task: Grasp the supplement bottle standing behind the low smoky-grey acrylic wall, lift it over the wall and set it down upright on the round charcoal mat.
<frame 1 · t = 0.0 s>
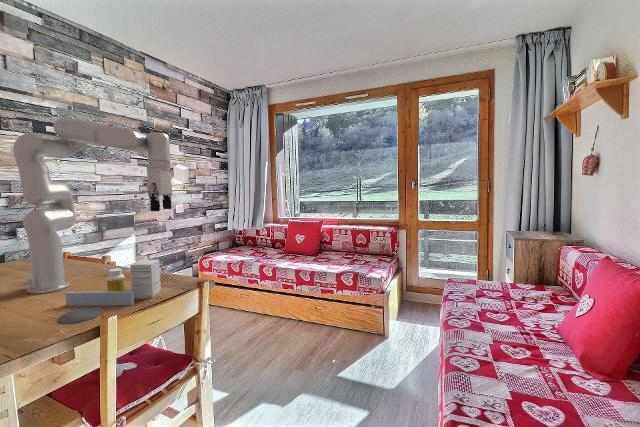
hand: (161, 210, 120), 31 cm above the table, tool pointing down, fingers open, 9 cm apart
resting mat: (81, 315, 96), on the table
supplement box: (146, 295, 114), on the table
supplement bottle: (116, 295, 114), on the table
acrylic wall: (100, 304, 105), on the table
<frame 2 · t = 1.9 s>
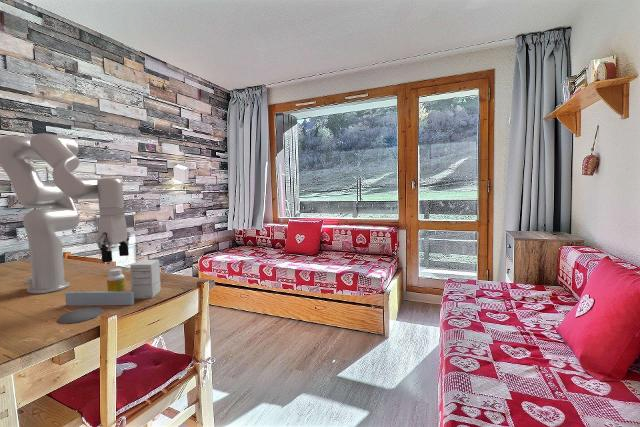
hand: (116, 258, 113), 14 cm above the table, tool pointing down, fingers open, 9 cm apart
nothing on the table moved.
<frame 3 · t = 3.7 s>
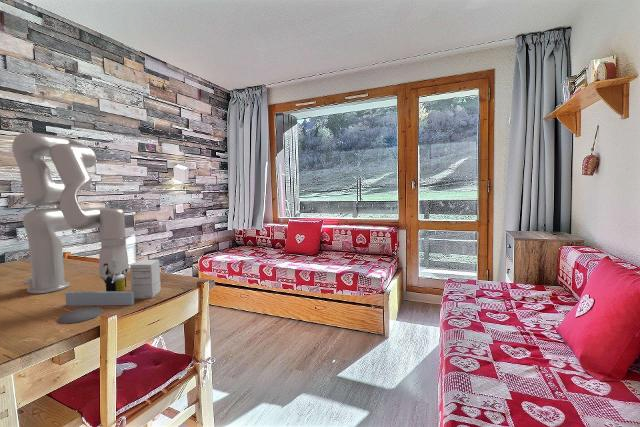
hand: (116, 289, 114), 2 cm above the table, tool pointing down, fingers closed on supplement bottle, 5 cm apart
supplement bottle: (116, 295, 114), on the table, touching gripper
everything else where it was.
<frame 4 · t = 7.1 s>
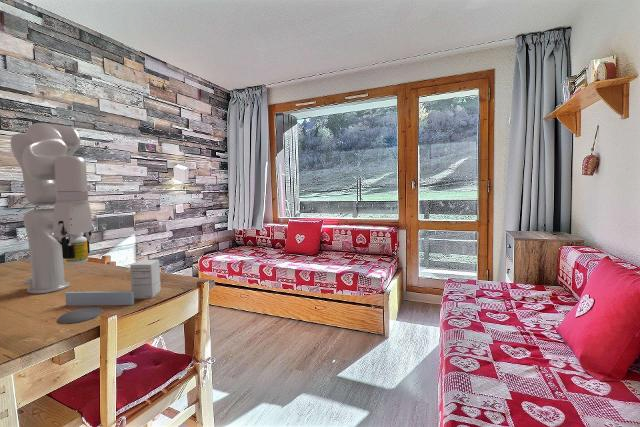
hand: (76, 255, 94), 19 cm above the table, tool pointing down, fingers closed on supplement bottle, 5 cm apart
supplement bottle: (77, 262, 95), point 17 cm above the table, touching gripper
everything else where it was.
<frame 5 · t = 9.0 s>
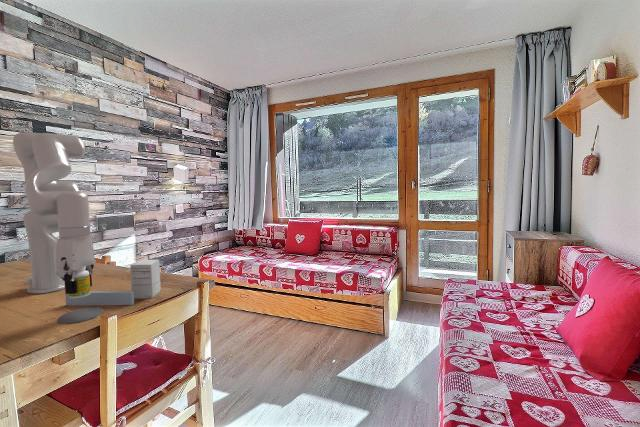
hand: (79, 289, 95), 9 cm above the table, tool pointing down, fingers closed on supplement bottle, 5 cm apart
supplement bottle: (80, 296, 96), point 6 cm above the table, touching gripper
everything else where it was.
when the fingers open (3 cm above the table, at t = 10.5 s): supplement bottle stays where it is, resting on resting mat.
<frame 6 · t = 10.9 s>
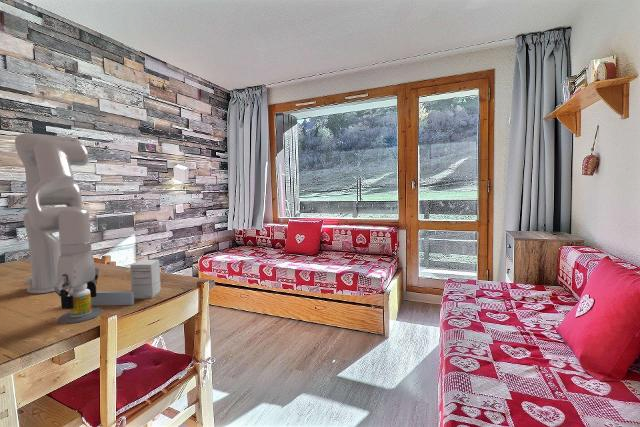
hand: (80, 302, 96), 4 cm above the table, tool pointing down, fingers open, 9 cm apart
supplement bottle: (81, 314, 96), resting on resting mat
everything else where it was.
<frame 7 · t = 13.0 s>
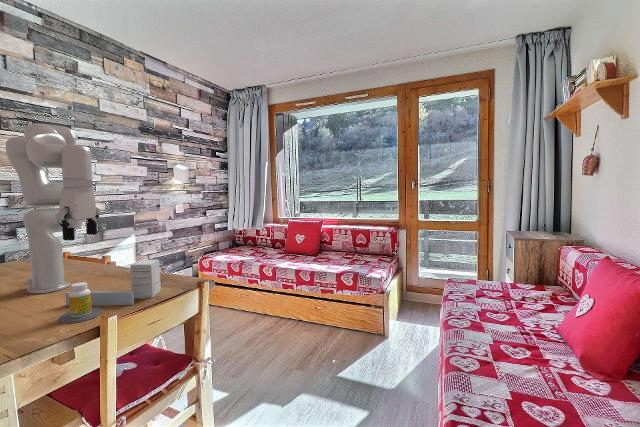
hand: (81, 237, 100), 24 cm above the table, tool pointing down, fingers open, 9 cm apart
nothing on the table moved.
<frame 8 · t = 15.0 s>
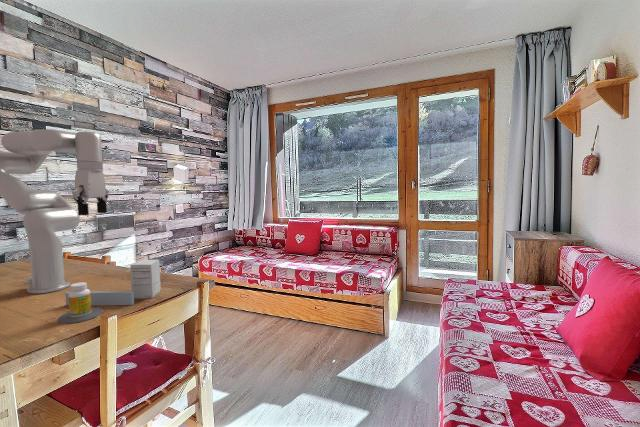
hand: (93, 213, 113), 30 cm above the table, tool pointing down, fingers open, 9 cm apart
nothing on the table moved.
at the end: supplement bottle 0.2 cm off-centre on the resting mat, point 0.2 cm above the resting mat's base; supplement bottle tilted 1°; the gripper is holding nothing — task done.
